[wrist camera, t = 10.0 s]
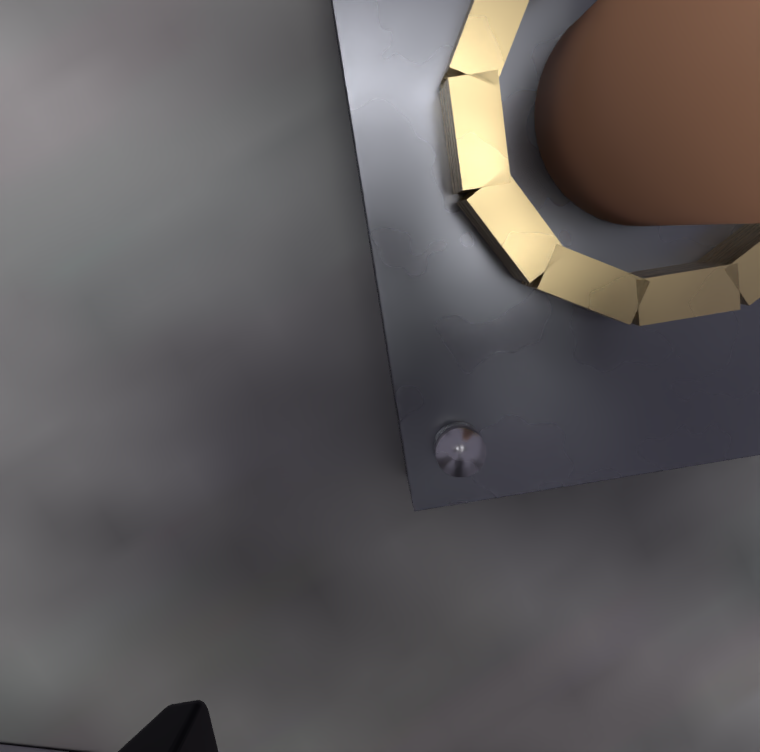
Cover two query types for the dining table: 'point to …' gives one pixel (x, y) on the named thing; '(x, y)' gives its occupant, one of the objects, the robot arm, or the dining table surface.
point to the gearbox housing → (530, 273)
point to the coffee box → (23, 749)
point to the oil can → (656, 112)
